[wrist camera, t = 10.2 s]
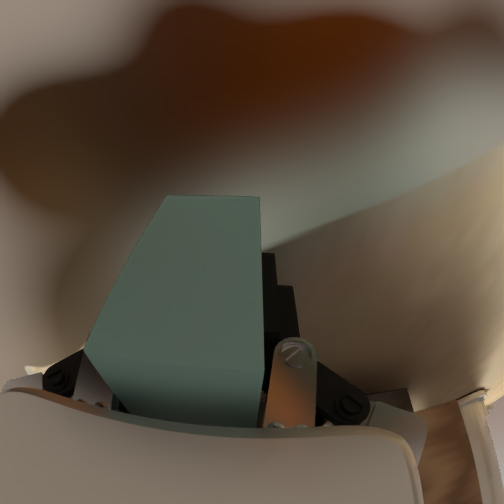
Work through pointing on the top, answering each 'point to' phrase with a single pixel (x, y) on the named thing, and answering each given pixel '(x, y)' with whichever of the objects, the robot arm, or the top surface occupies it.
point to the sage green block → (188, 316)
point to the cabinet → (437, 451)
